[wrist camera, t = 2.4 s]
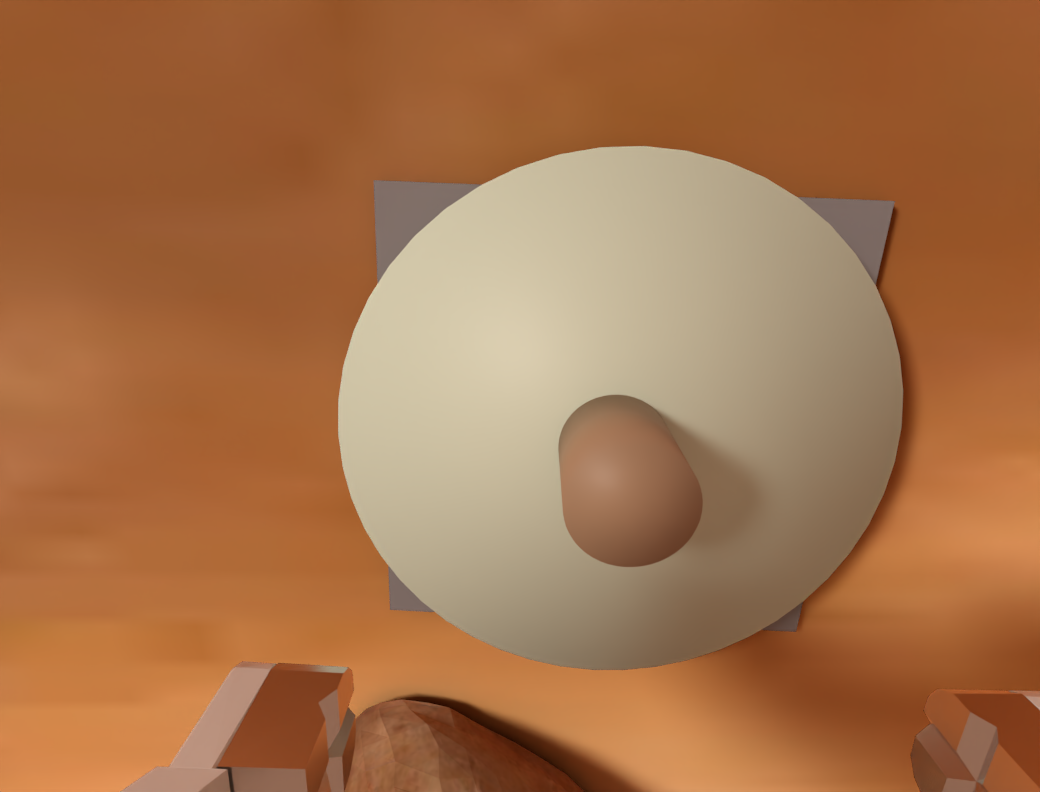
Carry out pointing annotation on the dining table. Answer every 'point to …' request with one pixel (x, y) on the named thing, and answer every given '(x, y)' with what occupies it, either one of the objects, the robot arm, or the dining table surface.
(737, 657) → the dining table surface
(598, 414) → the lid
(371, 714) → the ceramic vessel
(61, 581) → the dining table surface
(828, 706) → the dining table surface
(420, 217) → the mat
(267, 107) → the dining table surface
